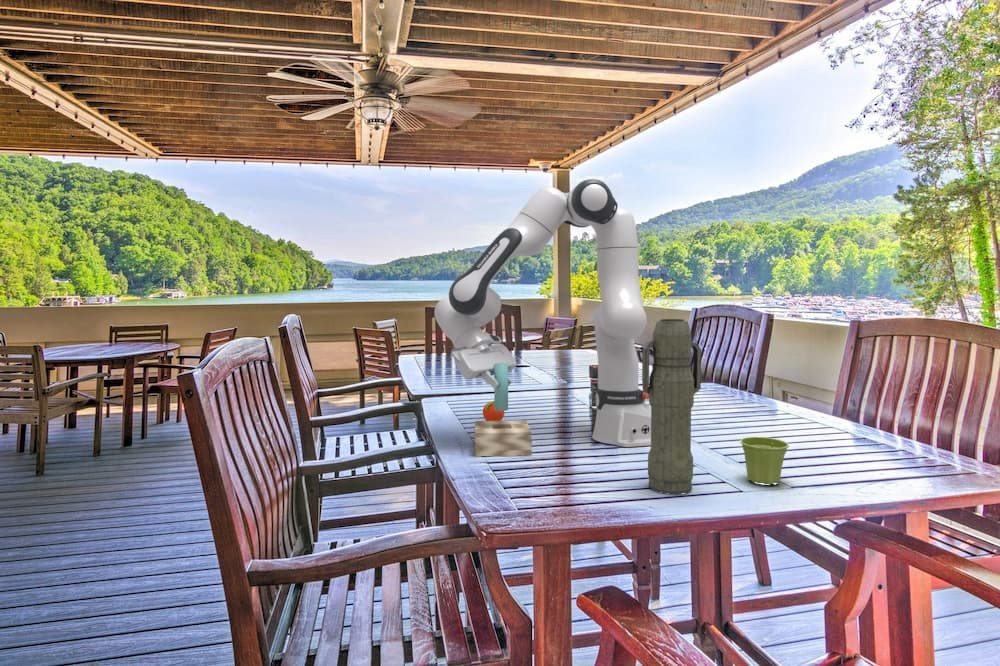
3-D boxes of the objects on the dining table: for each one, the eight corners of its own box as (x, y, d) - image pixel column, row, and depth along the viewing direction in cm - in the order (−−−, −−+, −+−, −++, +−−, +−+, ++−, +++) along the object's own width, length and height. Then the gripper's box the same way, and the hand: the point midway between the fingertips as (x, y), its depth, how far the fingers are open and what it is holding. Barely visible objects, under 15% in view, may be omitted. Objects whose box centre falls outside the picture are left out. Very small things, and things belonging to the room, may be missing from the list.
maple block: (525, 441, 156) (525, 420, 155) (531, 455, 142) (531, 432, 141) (474, 442, 155) (474, 421, 154) (475, 457, 141) (475, 433, 140)
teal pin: (507, 408, 150) (507, 363, 149) (508, 410, 146) (508, 364, 145) (494, 408, 149) (493, 363, 149) (494, 411, 146) (494, 364, 145)
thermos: (708, 492, 114) (710, 319, 112) (654, 497, 112) (656, 320, 110) (685, 479, 123) (687, 318, 121) (634, 482, 120) (636, 319, 118)
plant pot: (785, 492, 114) (786, 450, 114) (735, 484, 119) (736, 444, 119) (790, 479, 122) (791, 440, 122) (743, 472, 127) (743, 434, 126)
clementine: (494, 427, 174) (494, 404, 173) (476, 424, 178) (476, 402, 177) (508, 422, 180) (508, 400, 180) (490, 419, 184) (490, 398, 184)
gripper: (454, 340, 142) (485, 382, 137) (502, 336, 159) (531, 373, 153) (441, 357, 145) (471, 398, 140) (490, 351, 162) (518, 388, 156)
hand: (503, 385), depth 147 cm, fingers closed on teal pin, 4 cm apart
